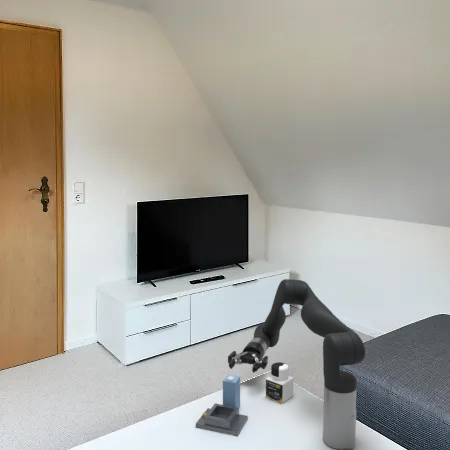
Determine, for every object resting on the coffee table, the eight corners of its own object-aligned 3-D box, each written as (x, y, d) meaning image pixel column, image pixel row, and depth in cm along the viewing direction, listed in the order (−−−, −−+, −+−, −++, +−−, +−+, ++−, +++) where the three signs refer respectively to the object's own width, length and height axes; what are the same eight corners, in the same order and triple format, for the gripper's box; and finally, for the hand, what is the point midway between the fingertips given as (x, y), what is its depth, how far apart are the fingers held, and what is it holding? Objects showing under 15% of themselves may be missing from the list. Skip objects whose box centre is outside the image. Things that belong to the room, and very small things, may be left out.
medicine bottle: (265, 397, 168) (265, 365, 167) (276, 390, 174) (277, 358, 172) (282, 404, 164) (282, 370, 162) (293, 396, 169) (294, 364, 167)
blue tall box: (240, 407, 162) (240, 374, 160) (235, 414, 157) (235, 380, 156) (228, 404, 163) (227, 372, 162) (222, 412, 159) (222, 378, 157)
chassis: (247, 419, 154) (247, 408, 154) (237, 435, 145) (237, 424, 144) (207, 411, 159) (207, 401, 158) (195, 427, 150) (195, 416, 149)
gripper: (237, 338, 186) (223, 355, 171) (273, 343, 182) (261, 361, 167) (237, 356, 188) (223, 374, 173) (272, 362, 183) (261, 381, 168)
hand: (241, 368), depth 170 cm, fingers open, 8 cm apart
